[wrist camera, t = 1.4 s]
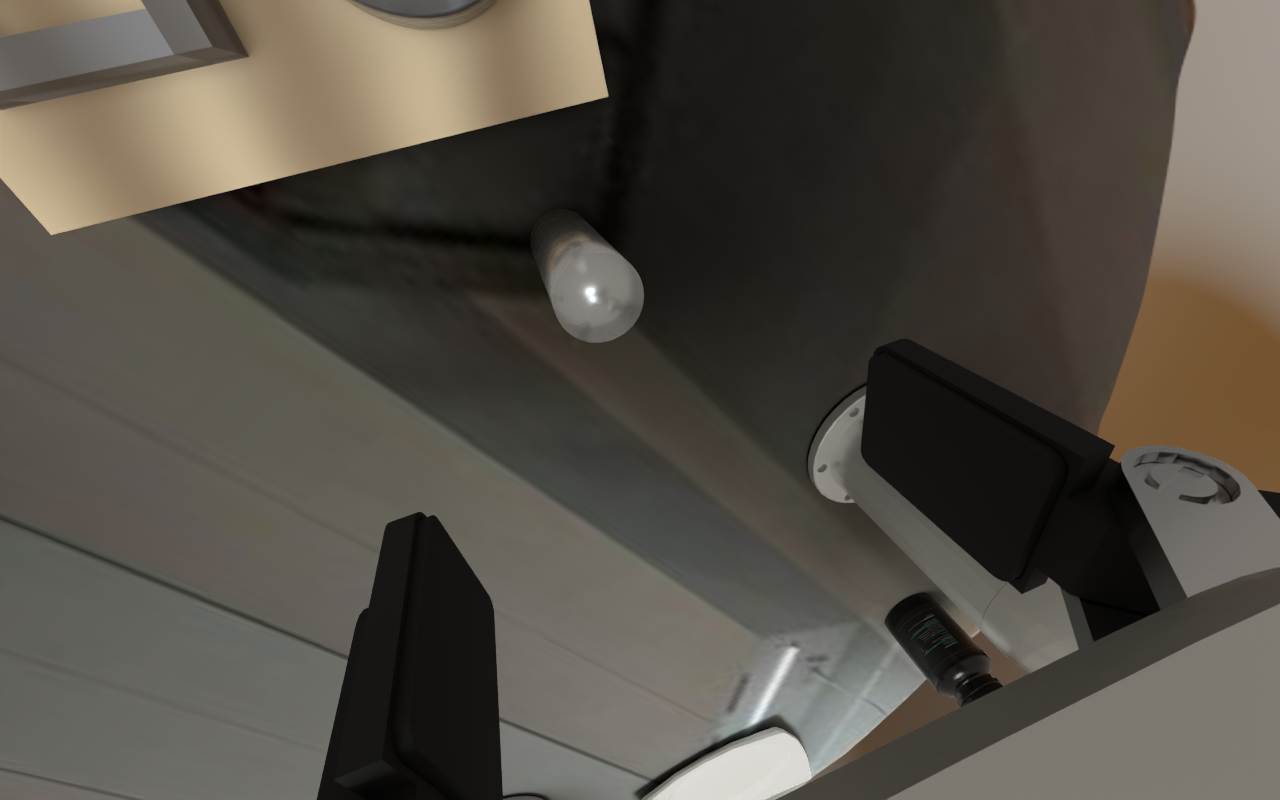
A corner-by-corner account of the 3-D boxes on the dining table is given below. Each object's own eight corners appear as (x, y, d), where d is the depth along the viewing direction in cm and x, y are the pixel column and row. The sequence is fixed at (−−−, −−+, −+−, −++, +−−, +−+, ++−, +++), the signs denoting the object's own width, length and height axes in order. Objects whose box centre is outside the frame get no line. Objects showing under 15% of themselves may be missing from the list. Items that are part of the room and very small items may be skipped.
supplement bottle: (932, 610, 61) (1018, 704, 51) (886, 635, 61) (964, 734, 51) (929, 584, 57) (1022, 680, 48) (881, 611, 57) (963, 713, 48)
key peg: (583, 201, 25) (633, 240, 17) (599, 263, 27) (651, 327, 18) (521, 218, 24) (540, 268, 16) (541, 280, 26) (568, 353, 18)
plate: (778, 703, 63) (789, 724, 61) (809, 758, 77) (819, 776, 75) (618, 790, 63) (623, 814, 61) (678, 829, 77) (684, 850, 74)
